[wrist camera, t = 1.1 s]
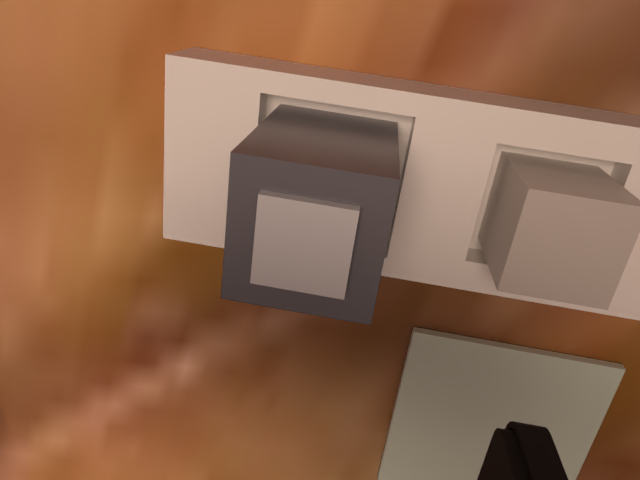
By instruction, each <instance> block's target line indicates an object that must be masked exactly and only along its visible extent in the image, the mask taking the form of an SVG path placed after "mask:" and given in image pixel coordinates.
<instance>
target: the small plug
mask: <svg viewBox="0 0 640 480" xmlns="http://www.w3.org/2000/svg"><path fill="white" fill-rule="evenodd" d="M639 233H640V200H639V199H638V198H637V197H635V196H634V195H633V194H632V193H630V192H629V191H628V190H627V189H625V188H624V187H623V186H622V185H621V184H619V183H618V182H617V181H616V180H614V179H613V178H612V177H611V176H610V175H608V174H607V173H606V172H605V171H603V170H602V169H601V168H600V167H598V166H594V165H588V164H582V163H575V162H569V161H563V160H556V159H550V158H544V157H538V156H531V155H525V154H519V153H513V152H506V151H501V155H500V158H499V162H498V165H497V169H496V173H495V176H494V180H493V183H492V187H491V191H490V194H489V198H488V201H487V205H486V208H485V212H484V216H483V219H482V223H481V226H480V230H479V234H478V239H479V242H480V245H481V248H482V250H483V253H484V256H485V259H486V261H487V264H488V267H489V270H490V272H491V275H492V278H493V281H494V284H495V286H496V289H497V291H500V292H506V293H512V294H517V295H523V296H529V297H535V298H541V299H546V300H552V301H558V302H564V303H569V304H575V305H581V306H587V307H593V308H598V309H604V310H608V308H609V305H610V303H611V301H612V298H613V296H614V293H615V291H616V289H617V286H618V284H619V281H620V279H621V277H622V274H623V272H624V269H625V267H626V264H627V262H628V260H629V257H630V255H631V252H632V250H633V248H634V245H635V243H636V240H637V238H638V236H639Z"/></svg>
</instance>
